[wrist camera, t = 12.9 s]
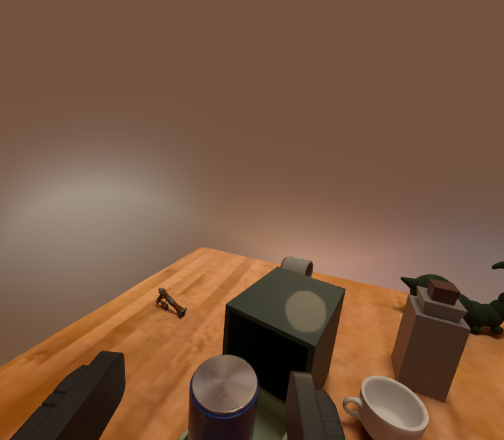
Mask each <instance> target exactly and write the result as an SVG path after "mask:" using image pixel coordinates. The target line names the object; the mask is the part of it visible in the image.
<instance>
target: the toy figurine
mask: <svg viewBox="0 0 504 440" xmlns="http://www.w3.org/2000/svg"><path fill="white" fill-rule="evenodd" d="M498 268H503V269H504V261H503V262H498V263H496V264H494V265H493V266H492V269H498ZM429 278H430V279H435V280H439V281H444V282H448V283H451V282H449V281H448V280H446V279H445V278H443V277H441V276H437V275H432V274H427V275H422V276H420V277H418V278H416V279H413V278H406V277H401V280H402V281H403V282H404V283H405V284H407V286H408V287H409V288H410V295H413V296H417V286H420V287H424V288H428V282H429ZM458 300H459V301H460V302H461V304H462V305H463V306H464V308H465V309H466V310H467V311H468V312H467V313H466V315H465V316H464V317H463V319H464V321H465V322H466V323H467V325H468V326H469V328H470V329H471V330H470V331H471V332H473V333H476V334H478V333H480V332H481V328H480V327H484V326H487V327H490V329H491V331H493V332H494V333H495V334H501V333H503V328H501V327H500V326H499V325H501V324H502V323H503V321H504V292H503V293H501V294H500V295H499V297H498V300H494V301H492V302H491V303H490V304H480V303H478V302H476V301H472V300H469V299H468V298H467V297H466V296H464V295H462V294H460V295H459V297H458Z"/></svg>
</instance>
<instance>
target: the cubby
mask: <svg viewBox="0 0 504 440" xmlns="http://www.w3.org/2000/svg"><path fill="white" fill-rule="evenodd" d="M345 290H346V289H344V288H341V287H338V286H335V285H332V284H329V283H326V282H323V281H320V280H317V279H314V278H311V277H308V276H305V275H302V274H299V273H296V272H293V271H290V270H287V269H284V268H281V267H276V268H275V269H274V270H272V271H271V272H270V273H268V274H267V275H265V276H264V277H263V278H261V279H260V280H258V281H257V282H256V283H254V284H253V285H252V286H250V287H249V288H247V289H246V290H245V291H243V292H242V293H241V294H239V295H238V296H236V297H235V298H234V299H232V300H231V301H230V302H228V303H227V304H226V310H225V324H224V338H223V351H222V355H233V356H237V357H239V358H241V359H243V360H245V361H246V362H247V363H249V364H250V366H251V367H252V368H253V370H254V372H255V373H256V375H257V378H258V382H259V387H261V388H263V389H264V390H266V391H267V392H269V393H270V394H272V395H274V396H275V397H277V398H278V399H280V400H282V401H283V402H285V403H286V398H287V391H288V385H289V379H290V373H291V371H297V372H307V373H311V375H312V378H313V382H314V386H315V390H322V388H323V385H324V383H325V380H326V378H327V375H328V372H329V368H330V363H331V358H332V354H333V349H334V344H335V339H336V334H337V329H338V324H339V319H340V314H341V309H342V304H343V299H344V295H345Z"/></svg>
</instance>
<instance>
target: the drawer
mask: <svg viewBox="0 0 504 440" xmlns="http://www.w3.org/2000/svg"><path fill="white" fill-rule="evenodd" d="M285 407H286V403H285V402H283V401H282V400H280V399H278V398H277V397H275V396H274V395H272V394H270V393H269V392H267V391H266V390H264V389H263V388H261V387H259V393H258V401H257V410H256V418H255V426H254V434H253V440H287V430H286V419H285ZM178 440H188V428H187V429H186V431H185V432H184V433H183V434H182V435H181V436H180V438H179V439H178Z"/></svg>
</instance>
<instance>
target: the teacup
mask: <svg viewBox="0 0 504 440" xmlns="http://www.w3.org/2000/svg"><path fill="white" fill-rule="evenodd" d="M349 402H354V403H356V405H357V406H358V410H357V411H353V410H350V409H348V408H347V407H346V405H347V403H349ZM343 408H344V410H345V411H346V412H347V413H348V414H350V415H351V416H353V417H355V418H356V419H358V420H360V421H361V422H362V424H363V426H364V427H365V429H366V431H367V432H368V434H369V435H370V436H371V437H372V439H373V440H420V439H421V437H422V436H423V434H424V432H425V430H426V428H427V426H428V422H429V416H428V412H427V409H426V407H425V406H424V404H423V402H422V401H421V400H420V399H419V397H418V396H417V395H416V394H415V393H414V392H412V391H411V390H410V389H409V388H407V387H406V386H404V385H403V384H401V383H399V382H398V381H395V380H393V379H391V378H388V377H384V376H370V377H368V378H366V379H365V380H364V381H363V383H362V386H361V390H360V397H359V398H357V397H347V398H345V399H344V401H343Z"/></svg>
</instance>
